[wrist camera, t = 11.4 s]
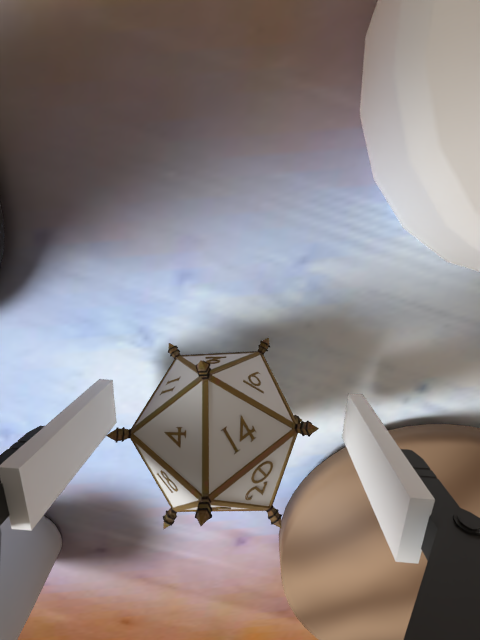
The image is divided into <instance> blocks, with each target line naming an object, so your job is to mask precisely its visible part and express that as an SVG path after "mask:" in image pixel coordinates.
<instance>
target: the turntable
mask: <svg viewBox="0 0 480 640" xmlns="http://www.w3.org/2000/svg"><path fill="white" fill-rule="evenodd" d="M388 432H389V434H390V435H391V436H392V438H393V439H394V441H395V442H396V444H397V445H398V447H399V448H400V449H408V450H412V451H414V452H415V453H416V454H418V455H419V456H420V457H421V458H423V459H424V461H425V462H426V463H427V465H428V466H429V467H430V469H431V471H433V473H434V474H435V475H436V476H437V479H439V480H440V482H441V483H442V484H443V486H444V487H445V488H446V490H447V491H448V492H449V493H450V495H451V496H452V497H453V499H454V500H455V501H456V503H457V504H458V505H459V507H460V508H462V509H464V510H467V511H469V512H471V513H473V514H474V515H476V516H477V517H479V518H480V428H476V427H472V426H464V425H454V424H424V425H416V426H407V427H402V428H397V429H393V430H388ZM279 552H280V566H281V579H282V584H283V589H284V593H285V595H286V598H287V601H288V603H289V605H290V607H291V609H292V610H293V612H294V614H295V615H296V617H297V618H298V619H299V621H300V622H301V623H302V624H303V625H304V627H305V628H306V629H307V630H308V631H310V632H311V633H312V634H313V635H314V636H315V637H316V638H317V639H319V640H404V636H405V633H406V630H407V627H408V623H409V620H410V617H411V614H412V610H413V607H414V604H415V601H416V598H417V594H418V591H419V588H420V585H421V581H422V578H423V575H424V572H425V568H426V565H427V562H428V561H427V559H426V557H425V555H424V553H423V551H422V552H421V556H420V560H419V563H418V564H416V563H404V562H396V561H395V559H394V557H393V554H392V552H391V550H390V547H389V545H388V543H387V540H386V538H385V536H384V533H383V531H382V529H381V527H380V524H379V522H378V520H377V517H376V515H375V513H374V510H373V508H372V506H371V503H370V501H369V499H368V496H367V494H366V492H365V489H364V487H363V485H362V482H361V480H360V478H359V476H358V473H357V471H356V469H355V466H354V464H353V462H352V459H351V457H350V455H349V452H348V450H347V448H346V447H345V448H343V449H341V450H340V451H338V452H337V453H335V454H333V455H332V456H330V457H329V458H327V459H326V460H325V461H323V462H322V463H321V464H320V465H318V466H317V467H316V468H315V469H314V470H313V471H312V472H311V473H310V474H309V475H308V476H307V477H306V478H305V479H304V480H303V481H302V482H301V484H300V485H299V486H298V488H297V489H296V490H295V492H294V493H293V495H292V497H291V499H290V500H289V502H288V504H287V506H286V508H285V511H284V514H283V517H282V520H281V528H280V531H279Z"/></svg>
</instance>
